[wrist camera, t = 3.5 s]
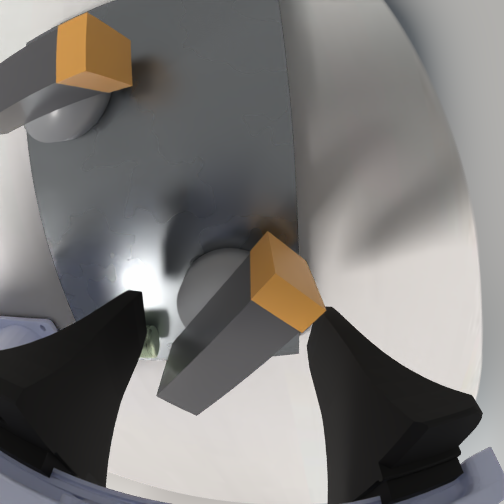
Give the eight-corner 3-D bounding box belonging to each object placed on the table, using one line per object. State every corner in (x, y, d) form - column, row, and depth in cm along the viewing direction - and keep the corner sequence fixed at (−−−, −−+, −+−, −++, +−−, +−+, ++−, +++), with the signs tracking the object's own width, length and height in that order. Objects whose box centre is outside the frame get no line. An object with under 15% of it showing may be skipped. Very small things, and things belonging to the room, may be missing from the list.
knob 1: (25, 156, 10) (-41, 175, 6) (21, 74, 8) (-43, 70, 4) (146, 119, 10) (88, 115, 6) (140, 23, 8) (90, -20, 4)
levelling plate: (99, 344, 16) (81, 376, 13) (39, 46, 9) (4, 38, 6) (295, 339, 15) (303, 378, 13) (272, -16, 8) (278, -49, 6)
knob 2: (228, 357, 14) (223, 428, 10) (155, 312, 13) (126, 379, 9) (321, 265, 12) (353, 329, 8) (240, 202, 11) (236, 244, 7)
